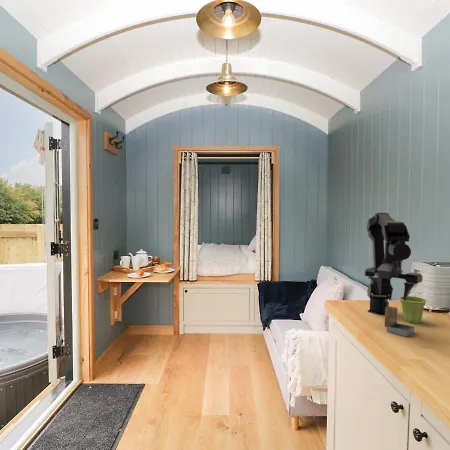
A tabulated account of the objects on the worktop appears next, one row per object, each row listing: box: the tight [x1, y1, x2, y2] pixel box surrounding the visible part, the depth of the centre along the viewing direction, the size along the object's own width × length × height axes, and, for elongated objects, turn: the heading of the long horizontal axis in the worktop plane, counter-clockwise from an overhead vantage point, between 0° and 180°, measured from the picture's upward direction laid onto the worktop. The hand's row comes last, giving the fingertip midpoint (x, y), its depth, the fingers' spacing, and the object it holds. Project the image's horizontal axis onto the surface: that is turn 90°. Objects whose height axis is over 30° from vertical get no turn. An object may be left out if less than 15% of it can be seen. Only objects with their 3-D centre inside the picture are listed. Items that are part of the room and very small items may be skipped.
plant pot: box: [399, 295, 428, 324], centre depth 139 cm, size 9×9×9 cm
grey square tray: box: [386, 322, 415, 338], centre depth 126 cm, size 7×7×2 cm
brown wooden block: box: [384, 305, 399, 328], centre depth 133 cm, size 3×3×7 cm
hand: (391, 297), depth 132 cm, fingers open, 9 cm apart
